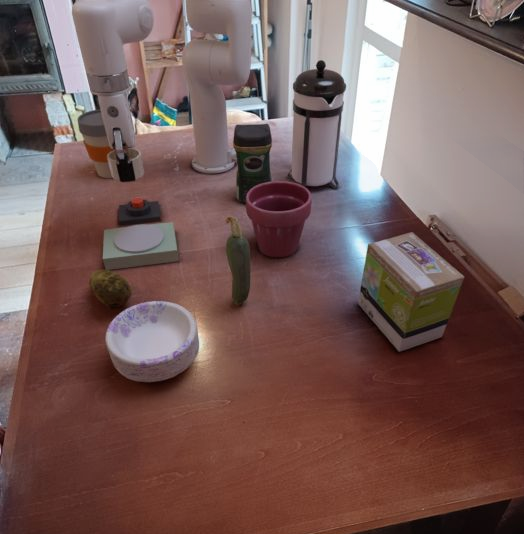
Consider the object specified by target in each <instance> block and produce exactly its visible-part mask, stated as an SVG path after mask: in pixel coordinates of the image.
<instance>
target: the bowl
mask: <svg viewBox="0 0 524 534" xmlns="http://www.w3.org/2000/svg"><path fill="white" fill-rule="evenodd" d="M124 153H126V150H124ZM129 154H130V160H131V161H132V163H133V168H134V173H135V178H136V180H135V181H130V182H129V183H132V182H133V183H134V182H136V181H139V180H140V179H142V178H143V177H144V175H145V167H144V160H143V155H142V152H141V150H139V149H138V148H135V147H134V148H129ZM107 159H108V163H109V167H110V172H111V176H112V177H113V178H112V179H114V180H115V181H116V182H119V183H121V182H120V179H119V175H118V170H117V166H116V157H115V151H114V150H113V151H111V152H110V153H109V154H107Z"/></svg>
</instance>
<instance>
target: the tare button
mask: <svg viewBox="0 0 524 534" xmlns="http://www.w3.org/2000/svg"><path fill="white" fill-rule="evenodd" d="M143 200H144V199H143V198H141V197H134V198H132V199H131V200H130V201H131V202H132V207H133V208H141V207H143V206H144V203H143Z"/></svg>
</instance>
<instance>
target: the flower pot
mask: <svg viewBox="0 0 524 534" xmlns="http://www.w3.org/2000/svg"><path fill="white" fill-rule="evenodd" d="M245 211H246V215H247V217H248V219H250V221H251V224H252V228H253V232H254V236H255V239H256V243H257V246H258V249H259V251H260V252H261V254H264V255H265V256H268V257H271V258H286V257H289V256H291V255H293V254H295V253H296V252H297V250H298V248H299V243H300V241H301V238H302V234H303V230H304V227H305V223H306V221H307V219H308V218H309V217H310V215H311V213H312V194H311V191H310V190H309V189H308V187H307V188H305V187H304V186H302V185H301V184H300V183H297V182H292V181H286V180H285V181H284V180H281V181H280V180H274V181H273V180H272V182H266V183H262V184H259V185H257V186H255V187H253V188H252V189H250V190H249V192H248V193H247V195H246V203H245Z"/></svg>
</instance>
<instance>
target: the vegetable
mask: <svg viewBox="0 0 524 534" xmlns="http://www.w3.org/2000/svg"><path fill="white" fill-rule="evenodd" d="M225 223H226V225H228V224H229V223H230V231H231V234H230V235H229V237H227V240H226V242H225V253H226V259H227V263H228V267H229V269H230V272H231V276H232V281H231V282H232V283H231V299H232V301H233V302H234V304H235V306H237V305H238V306H239V305H242V304H243V303H244V302H246V301H247V300H248V297H249V294H250V289H251V271H252V270H251V268H252V267H251V266H252V265H251V248H250V243H249V241H248V239H247V237H246V236H245V235H243V229H242V227H241V225H240V223H239V221H238V219H237V218H236V217H234V216H231V215H229V216H227V217H226V218H225Z"/></svg>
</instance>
